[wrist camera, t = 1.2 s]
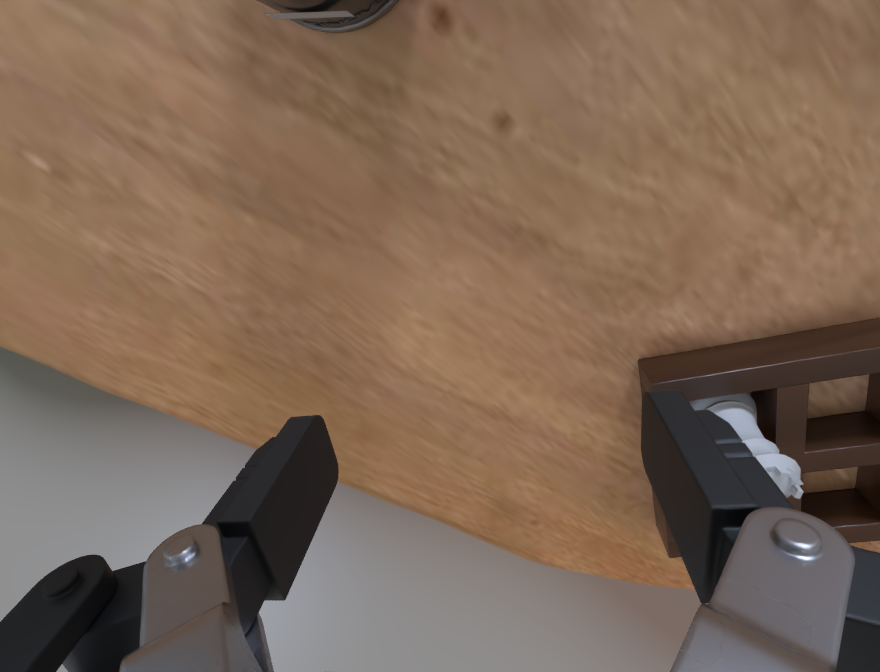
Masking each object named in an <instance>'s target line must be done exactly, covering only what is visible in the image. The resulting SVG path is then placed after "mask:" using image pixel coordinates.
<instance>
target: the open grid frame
mask: <svg viewBox="0 0 880 672" xmlns="http://www.w3.org/2000/svg"><path fill="white" fill-rule="evenodd" d="M638 365H639V374H640V381H641V382H640V383H641V392H642V397H643V394H644V392H651V391H664V390H680V391H681V392H682V393H683V394H684V396H685V397H686V399H687V400H688V401H694V400H701V399H707V398H714V397H720V396H727V395H734V394H740V393H747V392H751V397H752V398H753V400H754V401H755V404H756V410H757V426H758V428H759V430H760V431H761V433H762V435H763V437H764V438H765V439H767V440H769V441H770V442H772V443H774V444H775V445H776V446H777V448H778V449H779V454H782V455H786V456H788V457H790V458H792V459H793V460H795V461H796V462H797V464H798V465H799V467H800V468H801V478H800V480H801V481H802V482H803V473H806V472H815V471H824V470H833V469H841V468H850V467H858V475H857V482H856V489H850V490H840V491H831V492H821V493H812V494H802V496H801V498H800V499H798V498H794V497H793V495H790V496H789V497H788V498H787V499H788V500H789V501H790V503H791V504H792V505H793V507H794V508H795V509H796V510H798V511H801V512H804V513H807V514H809V515H812V516H814V517H816V518H818V519H820V520H822V521H824V522H825V523H827V524H828V525H830V526H831V527H833V528H834V529H835V530H837V531H838V532H839V533H840V534H841V535H842V536H843V537H844V538H845V539H846V541H847V542H848V543H856V542H868V541H880V318H878V319H872V320H866V321H860V322H855V323H849V324H843V325H837V326H832V327H826V328H820V329H814V330H809V331H803V332H797V333H791V334H786V335H780V336H774V337H768V338H763V339H757V340H751V341H745V342H739V343H734V344H728V345H722V346H716V347H711V348H705V349H699V350H693V351H688V352H682V353H676V354H670V355H665V356H659V357H653V358H647V359H642V360H638ZM866 374H870V380H869V388H868V396H867V403H866V411H864V412H857V413H850V414H842V415H835V416H828V417H820V418H813V419H807V408H808V393H809V383H813V382H819V381H826V380H833V379H839V378H846V377H852V376H859V375H866ZM800 488H801V489H802V485H800ZM652 492H653V501H654V510H655V518H656V526H657V528H658V531H659V533H660V536H661V538H662V541H663V543H664V546H665V549H666V551H667V554H668V556H669V558H676V557H681V554H680V552H679V549H678V547H677V545H676V542H675V540H674V538H673V535H672V533H671V530H670V528H669V526H668V523H667V521H666V519H665V516H664V514H663V511H662V509H661V507H660V504H659V502H658V500H657V497H656V495H655V492H654V490H653V488H652Z"/></svg>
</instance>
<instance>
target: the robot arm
mask: <svg viewBox="0 0 880 672" xmlns="http://www.w3.org/2000/svg"><path fill="white" fill-rule="evenodd" d="M257 1H259V2H261V3H263V4H265V5H267V6H269V7H271V8H273V9H275V10H277V11H279V12H280V13H276V14H265V15H268V16H270V17H272V18H274V19H291V20H293V21H295V22H297V23H299V24H301V25H303V26H306V27H308V28H311V29H314V30H317V31H323V32H331V33H340V32H348V31H353V30H357V29H360V28H363V27H365V26H367V25H369V24H371V23H373V22H375V21H376V20H378V19H379V18H380V17H382V16H383V15H385V14H386V13H387V12H388V11H389V10H390V9H391V8H392V7H393V6H394V5H395V4H396V3H397V1H398V0H257ZM641 451H642V459H643V463H644V467H645V471H646V473H647V476H648V478H649V481H650V483H651V485H652V488H653V490H654V492H655V495H656V497H657V500H658V502H659V504H660V507H661V509H662V511H663V514H664V516H665V519H666V521H667V523H668V526H669V528H670V530H671V533H672V535H673V538H674V540H675V542H676V545H677V547H678V549H679V552H680V554H681V557H682V559H683V561H684V564H685V566H686V568H687V571H688V573H689V576H690V578H691V580H692V583H693V585H694V587H695V590H696V592H697V594H698V597H699V599H700V602H701V603H702V604H701V605H700V607H699V608H698V610H697V612H696V614H695V616H694V618H693V621H692V623H691V625H690V628H689V630H688V632H687V634H686V637H685V639H684V641H683V644H682V646H681V648H680V650H679V653H678V655H677V657H676V659H675V662H674V664H673V666H672V668H671V671H670V672H880V553H878V552H873V551H868V550H864V549H860V548H857V547H854V546H851V545H850V544H849V543H848V542H847V541H846V539H845V538H844V537H843V536H842V535H841V534H840V533H839V532H838V531H837V530H835V529H834V528H833V527H831V526H830V525H828V524H827V523H825V522H824V521H822V520H820V519H818V518H816V517H814V516H812V515H809V514H807V513H804V512H801V511H798V510H796V509H795V508H794V507H793V505H792V504H791V503H790V501H789V500H788V499H787V498H786V496H785V495H784V494H783V492H782V491H781V490H780V488H779V487H778V486H777V485H776V483H775V482H774V481H773V479H772V478H771V477H770V475H769V474H768V473H767V471H766V470H765V469H764V468H763V466H762V465H761V464H760V462H759V461H758V460H757V458H756V457H753V454H752V452H751V451H750V449H749V448H748V447H747V445H746V444H745V443H742V439H741V438H740V436H739V435H738V434H737V432H736V431H735V430H734V428H733V427H732V426H731V425H730V423H729V422H727V421H725V420H724V419H722V418H721V417H719V416H718V415H716V414H715V413H713V412H711V411H710V410H694V409H693V408H692V406H691V405H690V403H689V402H688V400H687V399H686V397H685V396H684V394H683V393H682V392H681V391H680V390H664V391H651V392H644V394H643V397H642V427H641ZM337 481H338V462H337V459H336V455H335V452H334V449H333V446H332V443H331V440H330V437H329V434H328V431H327V428H326V424H325V422H324V420H323V418H322V417H321V416H319V415H314V416H300V417H291V418H290V419H289V420H288V421H287V422H286V424H285V425H284V426H283V428H282V429H281V431H280V432H279V434H278V435H277V436H276V437H272V438H271V439H270V440H269V441H267V442H266V443H265V444H264V445H262V446H261V447H260V448H259V449H257V450H256V451H255V453H254V454H253V455H252V457H251V458H250V459H249V461H248V462H247V463H246V465H245V468H243V469H242V470H241V471H240V473H239V474H238V476H237V477H236V481H233V482H232V484H231V485H230V486H229V488H228V489H227V491H226V492H225V493H224V495H223V496H222V497H221V499H220V500H219V501H218V503H217V504H216V505H215V507H214V508H213V509H212V511H211V512H210V514H209V515H208V516H207V518H206V519H205V521H204V522H203V523H202V524H201V525H195V526H191V527H188V528H185V529H183V530H181V531H179V532H177V533H175V534H173V535H172V536H170V537H169V538H167V539H166V540H165V541H163V542H162V543H161V544H160V545H159V546H158V547H157V548H156V549H155V550H154V551H153V552H152V553H151V555H150V556H149V558H148V559H147V561H146V562H142V563H139V564H135V565H132V566H129V567H125V568H122V569H118V570H115V571H112V570H111V569H110V567H109V565H108V564H107V562H106V561H105V559H104V558H103V557H101V556H99V555H87V556H83V557H79V558H76V559H74V560H72V561H69V562H67V563H65V564H63V565H62V566H60V567H58V568H57V569H55V570H54V571H52V572H50V573H49V574H48V575H46V576H45V577H44V578H43V579H41V580H40V581H39V582H38V583H37V584H36V585H35V586H34V587H33V588H32V589H31V590H30V591H29V592H28V593H27V594H26V595H25V596H24V597H23V598H22V600H21V601H20V602H19V603H18V604H17V605H16V606H15V607H14V608H13V609H12V610H11V611H10V612H9V613H8V614H7V615H6V617H5V618H4V619H3V620H2V621H1V622H0V672H56V671H57V670H58V668H59V667H60V666H61V664H63V665H64V666H65V668H66V669H67V670H68V672H274V671H273V666H272V662H271V657H270V653H269V649H268V644H267V640H266V635H265V631H264V626H263V622H262V619H261V617H260V615H259V613H258V612H259V610H260V608H261V606H262V604H263V602H264V600H285V599H286V597H287V595H288V592H289V590H290V588H291V586H292V583H293V581H294V579H295V577H296V575H297V572H298V570H299V568H300V565H301V563H302V561H303V559H304V557H305V554H306V552H307V550H308V548H309V545H310V543H311V541H312V538H313V536H314V534H315V532H316V530H317V527H318V525H319V523H320V521H321V518H322V516H323V514H324V512H325V509H326V507H327V505H328V503H329V500H330V498H331V496H332V494H333V491H334V489H335V487H336V484H337ZM705 603H709V604H708V605H707V604H705Z"/></svg>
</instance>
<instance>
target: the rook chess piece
mask: <svg viewBox="0 0 880 672" xmlns="http://www.w3.org/2000/svg"><path fill="white" fill-rule="evenodd" d="M688 402H689V403H690V405H691V406H692V408H693V409H694V410H710V411H711V412H713V413H715V414H716V415H718V416H719V417H721V418H722V419H724V420H725V421H727V422H729V423H730V425H731V426H732V427H733V428H734V430H735V431H736V432H737V434H738V435H739V436H740V438H741V439H742V443H745V444H746V445H747V447H748V448H749V449H750V451H751V452H752V454H753V457H756V458H757V460H758V461H759V462H760V464H761V465H762V466H763V468H764V469H765V470H766V471H767V473H768V474H769V475H770V477H771V478H772V479H773V481H774V482H775V483H776V485H777V486H778V487H779V488H780V490H781V491H782V492H783V494H784V495H785V496H786V498H788V497H789V496H790V495H793V497H794V498H798V499H800V498H801V496H802V494H803V492H804V491H803V490H802V489H801V488H800V485H803V483H802V481H801V480H800V478H801V468H800V467H799V465H798V464H797V462H796V461H795V460H793V459H792V458H790V457H788V456H786V455H782V454H779V449H778V448H777V446H776V445H775V444H774V443H772V442H770V441H769V440H767V439H765V438H764V437H763V435H762V433H761V431H760V430H759V428H758V426H757V410H756V404H755V401H754V400H753V398H752V397H751V396H750V394H749V393H748V392H747V393H740V394H734V395H727V396H720V397H714V398H707V399H701V400H694V401H688Z"/></svg>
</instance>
